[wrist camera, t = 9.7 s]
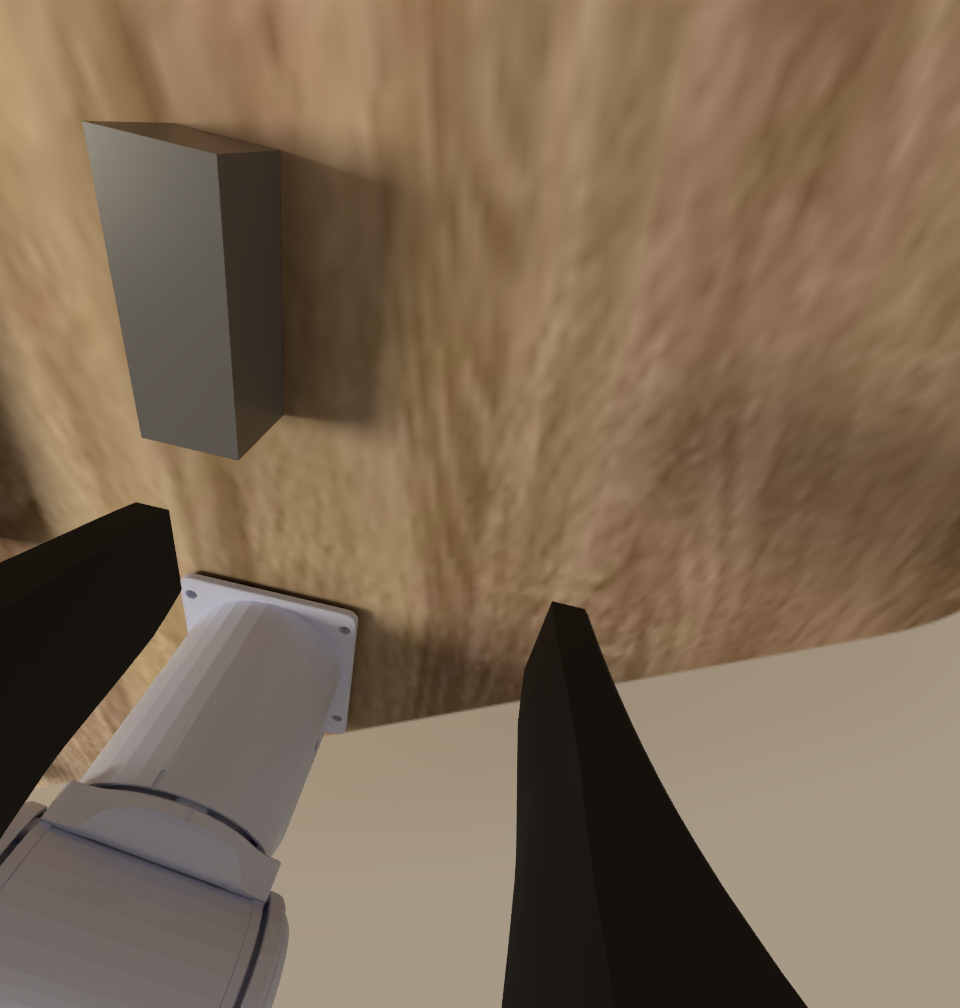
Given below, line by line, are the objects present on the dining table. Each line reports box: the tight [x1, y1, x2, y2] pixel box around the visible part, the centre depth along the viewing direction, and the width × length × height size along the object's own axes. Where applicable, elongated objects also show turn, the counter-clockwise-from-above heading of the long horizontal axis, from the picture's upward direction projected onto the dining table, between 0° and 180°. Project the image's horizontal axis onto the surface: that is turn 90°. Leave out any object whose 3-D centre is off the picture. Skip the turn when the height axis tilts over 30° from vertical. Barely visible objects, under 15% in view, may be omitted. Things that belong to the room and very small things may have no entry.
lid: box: [82, 121, 283, 460], centre depth 16 cm, size 15×15×4 cm
